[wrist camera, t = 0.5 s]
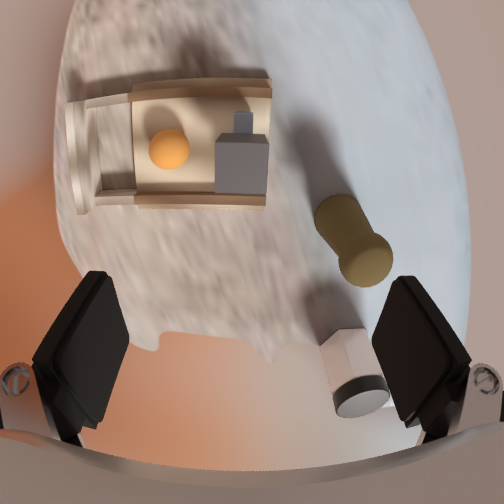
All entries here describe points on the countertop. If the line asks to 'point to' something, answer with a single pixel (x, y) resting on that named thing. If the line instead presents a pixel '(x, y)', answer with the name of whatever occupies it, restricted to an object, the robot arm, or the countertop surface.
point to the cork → (353, 241)
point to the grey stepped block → (241, 158)
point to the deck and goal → (160, 118)
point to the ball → (169, 149)
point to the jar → (353, 373)
